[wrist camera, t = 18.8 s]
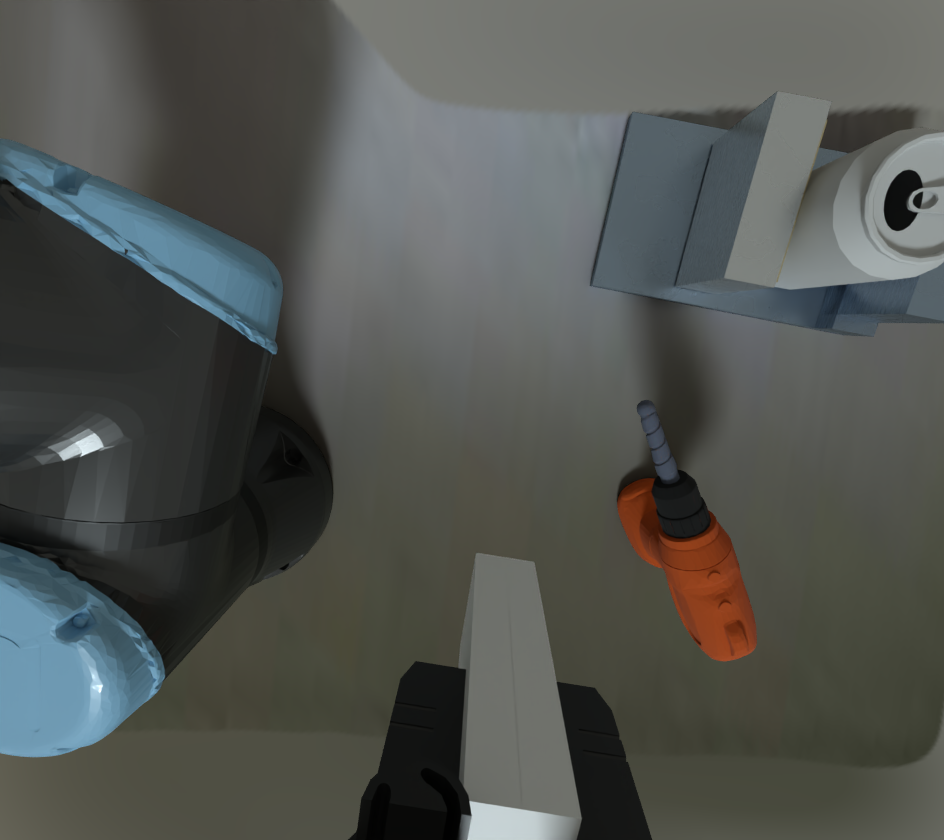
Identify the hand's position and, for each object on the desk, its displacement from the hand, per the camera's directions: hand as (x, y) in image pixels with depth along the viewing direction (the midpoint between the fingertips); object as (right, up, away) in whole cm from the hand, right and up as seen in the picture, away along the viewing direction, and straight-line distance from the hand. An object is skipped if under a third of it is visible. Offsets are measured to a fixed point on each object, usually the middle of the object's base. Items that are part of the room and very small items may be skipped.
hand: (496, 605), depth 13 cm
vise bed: (+19, +19, +24) cm, 36 cm away
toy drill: (+13, 0, +29) cm, 31 cm away
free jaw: (+17, +19, +23) cm, 35 cm away
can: (+23, +18, +23) cm, 37 cm away
